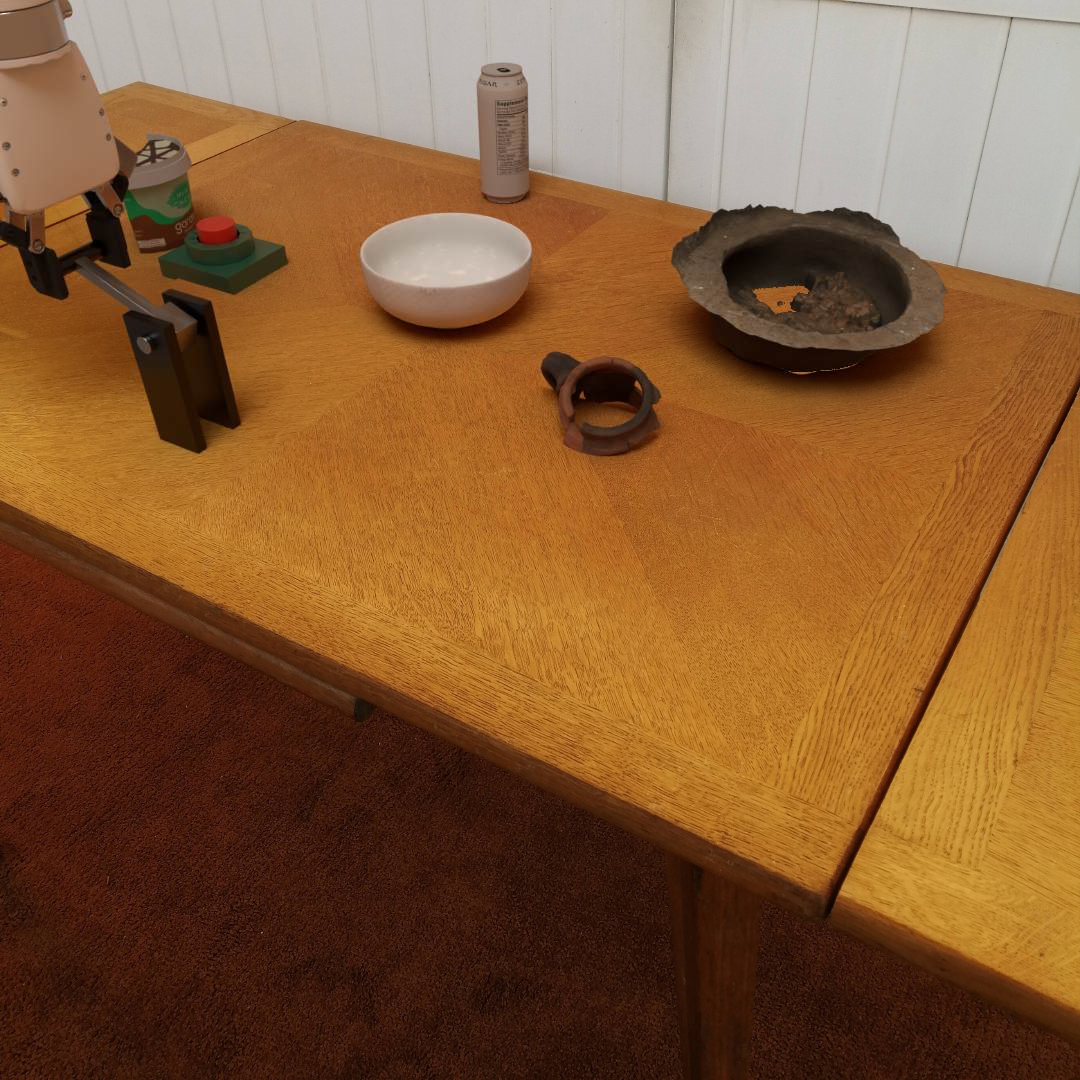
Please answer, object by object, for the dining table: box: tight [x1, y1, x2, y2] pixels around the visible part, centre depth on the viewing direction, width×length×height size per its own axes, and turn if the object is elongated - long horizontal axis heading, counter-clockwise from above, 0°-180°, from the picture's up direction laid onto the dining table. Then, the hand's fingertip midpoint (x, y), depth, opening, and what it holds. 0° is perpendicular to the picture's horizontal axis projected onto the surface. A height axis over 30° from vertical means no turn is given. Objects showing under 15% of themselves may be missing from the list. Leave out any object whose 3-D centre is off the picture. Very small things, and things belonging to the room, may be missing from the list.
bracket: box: [121, 288, 242, 455], centre depth 80 cm, size 11×8×13 cm
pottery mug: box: [540, 350, 663, 457], centre depth 84 cm, size 12×10×8 cm
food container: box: [123, 132, 197, 255], centre depth 114 cm, size 12×6×10 cm, turn 179°
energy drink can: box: [476, 62, 530, 204], centre depth 121 cm, size 6×6×15 cm
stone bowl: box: [670, 203, 948, 372], centre depth 95 cm, size 25×25×9 cm
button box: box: [157, 222, 289, 296], centre depth 109 cm, size 10×9×4 cm
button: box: [196, 215, 238, 245], centre depth 107 cm, size 4×4×2 cm
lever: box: [57, 240, 197, 352], centre depth 78 cm, size 12×5×2 cm, turn 60°
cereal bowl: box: [359, 212, 533, 330], centre depth 100 cm, size 17×17×7 cm
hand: (84, 277), depth 79 cm, fingers open, 5 cm apart
